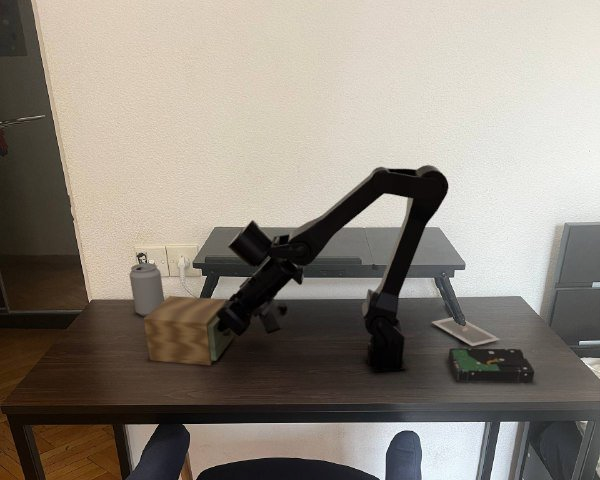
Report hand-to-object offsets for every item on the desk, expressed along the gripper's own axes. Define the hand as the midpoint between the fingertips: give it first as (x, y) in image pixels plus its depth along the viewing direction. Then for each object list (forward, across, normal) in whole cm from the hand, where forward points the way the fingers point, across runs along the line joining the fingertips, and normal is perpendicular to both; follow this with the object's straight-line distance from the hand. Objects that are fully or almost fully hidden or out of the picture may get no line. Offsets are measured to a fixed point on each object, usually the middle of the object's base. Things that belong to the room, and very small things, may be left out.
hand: (219, 330), depth 121 cm
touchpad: (-31, +22, -42) cm, 56 cm away
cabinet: (+11, +4, +1) cm, 11 cm away
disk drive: (-34, +5, -44) cm, 56 cm away
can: (+24, +23, +14) cm, 36 cm away
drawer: (+8, +4, 0) cm, 9 cm away
